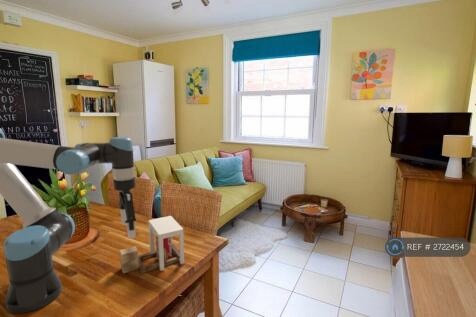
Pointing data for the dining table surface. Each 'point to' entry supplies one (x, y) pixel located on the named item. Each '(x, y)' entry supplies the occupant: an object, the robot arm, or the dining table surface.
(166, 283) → the dining table surface
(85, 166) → the robot arm
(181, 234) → the white stool
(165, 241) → the beverage can
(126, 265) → the pull frame
